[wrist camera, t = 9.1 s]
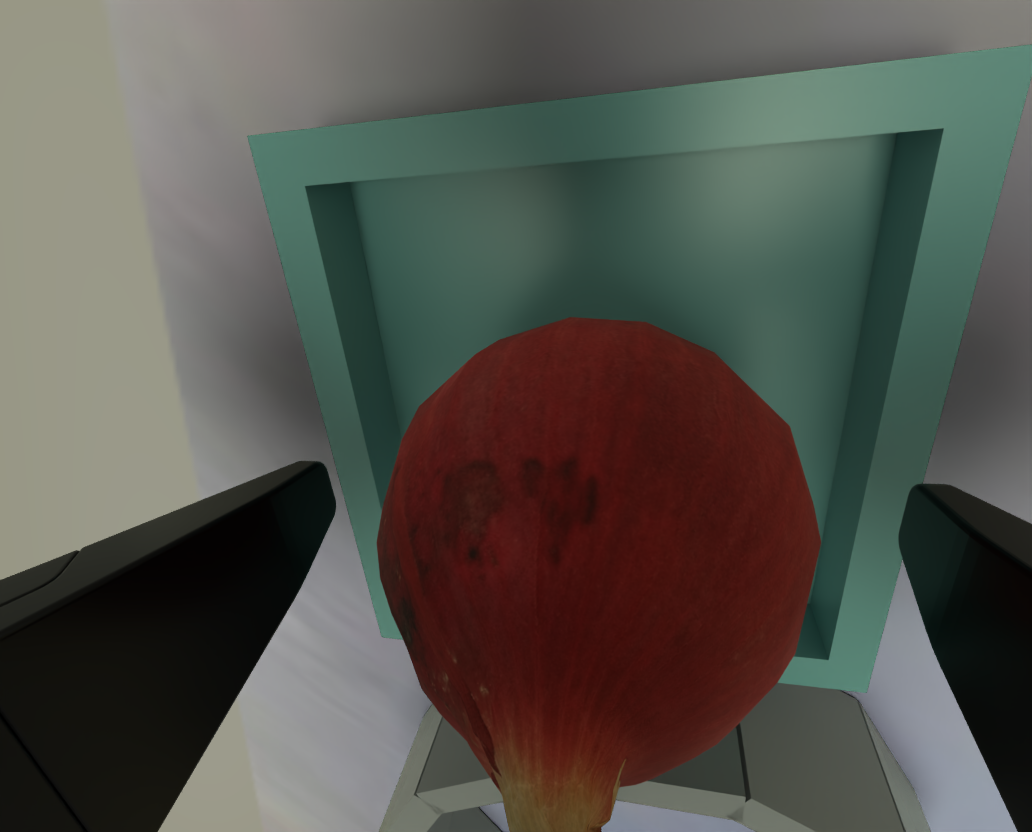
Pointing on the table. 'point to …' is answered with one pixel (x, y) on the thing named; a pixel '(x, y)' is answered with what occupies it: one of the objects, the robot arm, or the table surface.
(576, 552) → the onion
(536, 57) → the table surface
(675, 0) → the table surface
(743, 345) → the tray
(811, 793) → the ring
